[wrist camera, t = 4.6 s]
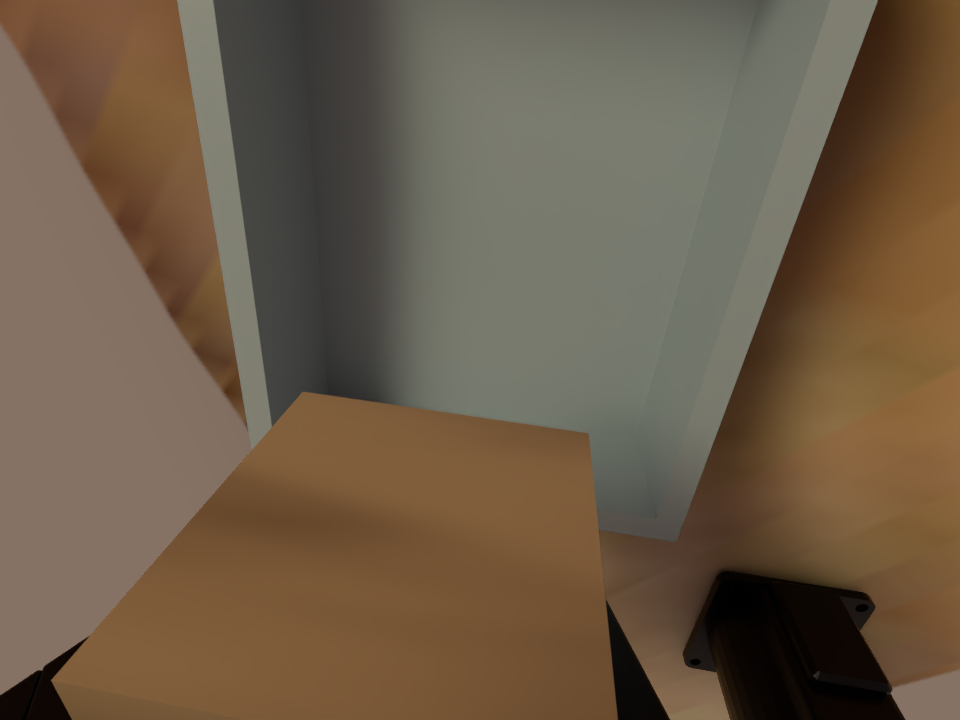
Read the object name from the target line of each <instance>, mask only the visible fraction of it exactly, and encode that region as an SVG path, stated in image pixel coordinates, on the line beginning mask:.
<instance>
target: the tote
mask: <svg viewBox="0 0 960 720" xmlns="http://www.w3.org/2000/svg"><path fill="white" fill-rule="evenodd" d="M177 2H178V8H179V14H180V20H181V26H182V33H183V39H184V45H185V51H186V57H187V63H188V69H189V75H190V81H191V87H192V93H193V99H194V105H195V111H196V117H197V123H198V129H199V135H200V141H201V147H202V153H203V159H204V165H205V172H206V178H207V184H208V190H209V196H210V202H211V208H212V214H213V220H214V226H215V232H216V238H217V244H218V250H219V256H220V262H221V268H222V274H223V280H224V286H225V292H226V298H227V304H228V311H229V317H230V323H231V329H232V335H233V341H234V347H235V353H236V359H237V365H238V371H239V377H240V383H241V389H242V395H243V401H244V407H245V413H246V419H247V425H248V431H249V437H250V444H251V450H252V449H253V448H254V447H255V446H256V445H257V444H258V443H259V441H260V440H261V439H262V438H263V437H264V436H265V435H266V433H267V432H268V431H269V430H270V429H271V428H272V426H273V425H274V424H275V423H276V422H277V421H278V420H279V418H280V417H281V416H282V415H283V414H284V413H285V412H286V410H287V409H288V408H289V407H290V406H291V405H292V404H293V402H294V401H295V400H296V399H297V398H298V397H299V396H300V394H301V393H302V392H309V393H316V394H323V395H330V396H337V397H344V398H350V399H357V400H364V401H371V402H378V403H385V404H392V405H398V406H405V407H412V408H419V409H426V410H433V411H440V412H446V413H453V414H460V415H467V416H474V417H481V418H488V419H494V420H501V421H508V422H515V423H522V424H529V425H536V426H542V427H549V428H556V429H563V430H570V431H577V432H584V433H589V440H590V450H591V460H592V470H593V480H594V490H595V499H596V509H597V519H598V529H599V530H600V531H606V532H613V533H619V534H626V535H632V536H638V537H645V538H651V539H658V540H664V541H670V542H677V539H678V537H679V534H680V531H681V529H682V526H683V523H684V520H685V518H686V515H687V512H688V510H689V507H690V504H691V502H692V499H693V496H694V494H695V491H696V488H697V485H698V483H699V480H700V477H701V475H702V472H703V469H704V467H705V464H706V461H707V459H708V456H709V453H710V451H711V448H712V445H713V442H714V440H715V437H716V434H717V432H718V429H719V426H720V424H721V421H722V418H723V416H724V413H725V410H726V408H727V405H728V402H729V399H730V397H731V394H732V391H733V389H734V386H735V383H736V381H737V378H738V375H739V373H740V370H741V367H742V365H743V362H744V359H745V356H746V354H747V351H748V348H749V346H750V343H751V340H752V338H753V335H754V332H755V330H756V327H757V324H758V322H759V319H760V316H761V313H762V311H763V308H764V305H765V303H766V300H767V297H768V295H769V292H770V289H771V287H772V284H773V281H774V278H775V276H776V273H777V270H778V268H779V265H780V262H781V260H782V257H783V254H784V252H785V249H786V246H787V244H788V241H789V238H790V235H791V233H792V230H793V227H794V225H795V222H796V219H797V217H798V214H799V211H800V209H801V206H802V203H803V201H804V198H805V195H806V192H807V190H808V187H809V184H810V182H811V179H812V176H813V174H814V171H815V168H816V166H817V163H818V160H819V158H820V155H821V152H822V149H823V147H824V144H825V141H826V139H827V136H828V133H829V131H830V128H831V125H832V123H833V120H834V117H835V114H836V112H837V109H838V106H839V104H840V101H841V98H842V96H843V93H844V90H845V88H846V85H847V82H848V80H849V77H850V74H851V71H852V69H853V66H854V63H855V61H856V58H857V55H858V53H859V50H860V47H861V45H862V42H863V39H864V37H865V34H866V31H867V28H868V26H869V23H870V20H871V18H872V15H873V12H874V10H875V7H876V4H877V2H878V0H177Z"/></svg>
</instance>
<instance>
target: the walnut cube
mask: <svg viewBox="0 0 960 720" xmlns="http://www.w3.org/2000/svg"><path fill="white" fill-rule="evenodd" d="M51 681H52V683H53V685H54V687H55V689H56V691H57V693H58V694H59V696H60V698H61V700H62V702H63V704H64V706H65V707H66V709H67V711H68V713H69V715H70V717H71V719H72V720H618V716H617V707H616V697H615V687H614V677H613V667H612V657H611V647H610V638H609V628H608V618H607V608H606V598H605V588H604V578H603V568H602V559H601V549H600V539H599V529H598V519H597V509H596V499H595V490H594V480H593V470H592V460H591V450H590V440H589V433H584V432H577V431H570V430H563V429H556V428H549V427H542V426H536V425H529V424H522V423H515V422H508V421H501V420H494V419H488V418H481V417H474V416H467V415H460V414H453V413H446V412H440V411H433V410H426V409H419V408H412V407H405V406H398V405H392V404H385V403H378V402H371V401H364V400H357V399H350V398H344V397H337V396H330V395H323V394H316V393H309V392H302V393H301V394H300V396H299V397H298V398H297V399H296V400H295V401H294V402H293V404H292V405H291V406H290V407H289V408H288V409H287V410H286V412H285V413H284V414H283V415H282V416H281V417H280V418H279V420H278V421H277V422H276V423H275V424H274V425H273V426H272V428H271V429H270V430H269V431H268V432H267V433H266V435H265V436H264V437H263V438H262V439H261V440H260V441H259V443H258V444H257V445H256V446H255V447H254V448H253V449H252V451H251V452H250V453H249V454H248V455H247V456H246V457H245V459H244V460H243V461H242V462H241V463H240V464H239V465H238V467H237V468H236V469H235V470H234V471H233V472H232V474H231V475H230V476H229V477H228V478H227V479H226V480H225V482H224V483H223V484H222V485H221V486H220V487H219V488H218V490H217V491H216V492H215V493H214V494H213V495H212V497H211V498H210V499H209V500H208V501H207V502H206V503H205V504H204V506H203V507H202V508H201V509H200V510H199V512H198V513H197V514H196V515H195V516H194V517H193V518H192V519H191V521H190V522H189V523H188V524H187V525H186V526H185V527H184V529H183V530H182V531H181V532H180V533H179V534H178V535H177V537H176V538H175V539H174V540H173V541H172V543H171V544H170V545H169V546H168V547H167V548H166V549H165V550H164V551H163V553H162V554H161V555H160V556H159V557H158V559H156V561H155V562H154V563H153V564H152V565H151V566H150V567H149V569H148V570H147V571H146V572H145V573H144V575H143V576H142V577H141V578H140V579H139V580H138V581H137V583H136V584H135V585H134V586H133V587H132V588H131V589H130V590H129V592H128V593H127V594H126V595H125V596H124V597H123V598H122V600H121V601H120V602H119V603H118V604H117V605H116V607H115V608H114V609H113V610H112V611H111V612H110V613H109V615H108V616H107V617H106V618H105V619H104V620H103V621H102V623H101V624H100V625H99V626H98V627H97V628H96V629H95V631H94V632H93V633H92V634H91V635H90V636H89V637H88V639H87V640H86V641H85V642H84V643H83V644H82V645H81V647H80V648H79V649H78V650H77V651H76V652H75V653H74V655H73V656H72V657H71V658H70V659H69V660H68V662H67V663H66V664H65V665H64V666H63V667H62V668H61V670H60V671H59V672H58V673H57V674H56V675H55V676H54V678H53V679H52V680H51Z"/></svg>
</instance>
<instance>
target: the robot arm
mask: <svg viewBox="0 0 960 720" xmlns="http://www.w3.org/2000/svg"><path fill="white" fill-rule="evenodd" d="M606 608H607V618H608V628H609V638H610V647H611V657H612V667H613V677H614V687H615V697H616V707H617V716H618V720H670V719H669V717H668V715H667V713H666V711H665V709H664V707H663V706H662V704H661V702H660V700H659V698H658V696H657V694H656V692H655V690H654V689H653V687H652V685H651V683H650V681H649V679H648V677H647V675H646V674H645V672H644V670H643V668H642V666H641V664H640V662H639V660H638V658H637V657H636V655H635V653H634V651H633V649H632V647H631V645H630V643H629V641H628V640H627V638H626V636H625V634H624V632H623V630H622V628H621V626H620V625H619V623H618V621H617V619H616V617H615V615H614V613H613V611H612V609H611V608H610V606H609V604H608V602H607V600H606ZM874 609H875V605H874V603H873V601H872V600H871V598H870V597H869V596H868V595H867V594H866V593H862V592H857V591H850V590H844V589H838V588H831V587H825V586H819V585H813V584H806V583H800V582H794V581H788V580H781V579H775V578H769V577H762V576H756V575H750V574H744V573H737V572H729V571H727V572H722V573H721V574H719V575H718V576H717V577H716V579H715V582H714V584H713V586H712V588H711V591H710V593H709V595H708V597H707V600H706V602H705V604H704V606H703V609H702V611H701V613H700V615H699V618H698V620H697V622H696V624H695V627H694V629H693V631H692V633H691V636H690V638H689V640H688V642H687V645H686V647H685V649H684V651H683V658H684V662H685V664H686V665H687V666H688V667H691V668H695V669H701V670H707V671H713V672H717V675H718V679H719V682H720V686H721V689H722V693H723V696H724V700H725V703H726V707H727V710H728V714H729V717H730V720H905V718H904V716H903V715H902V713H901V711H900V709H899V708H898V706H897V704H896V702H895V701H894V699H893V698H892V695H891V694H890V693H891V691H892V687H891V684H890V683H889V681H888V679H887V677H886V676H885V674H884V672H883V670H882V669H881V667H880V665H879V664H878V662H877V660H876V658H875V657H874V655H873V653H872V651H871V650H870V648H869V646H868V644H867V643H866V641H865V639H864V638H863V636H862V634H861V632H860V630H861V628H862V627H863V625H864V624H865V622H866V621H867V620H868V618H869V617H870V615H871V614H872V612H873V611H874ZM88 637H89V636H88ZM88 637H87V638H85V639H84V640H82V641H81V642H79V643H78V644H76V645H75V646H74V647H72V648H71V649H69V650H68V651H66V652H65V653H63V654H62V655H60V656H59V657H57V658H56V659H54V660H53V661H51V662H50V663H48V664H47V665H45V666H44V668H43V670H42V671H41V670H38V671H36V672H34V673H33V674H31V675H30V676H29V677H27V678H26V679H24V680H23V681H21V682H20V683H18V684H17V685H15V686H14V687H12V688H11V689H9V690H8V691H6V692H5V693H3V694H1V695H0V720H72V719H71V717H70V715H69V713H68V711H67V709H66V707H65V706H64V704H63V702H62V700H61V698H60V696H59V694H58V693H57V691H56V689H55V687H54V685H53V683H52V681H51V680H52V679H53V678H54V676H55V675H56V674H57V673H58V672H59V671H60V670H61V668H62V667H63V666H64V665H65V664H66V663H67V662H68V660H69V659H70V658H71V657H72V656H73V655H74V653H75V652H76V651H77V650H78V649H79V648H80V647H81V645H82V644H83V643H84V642H85V641H86V640H87V639H88Z"/></svg>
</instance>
